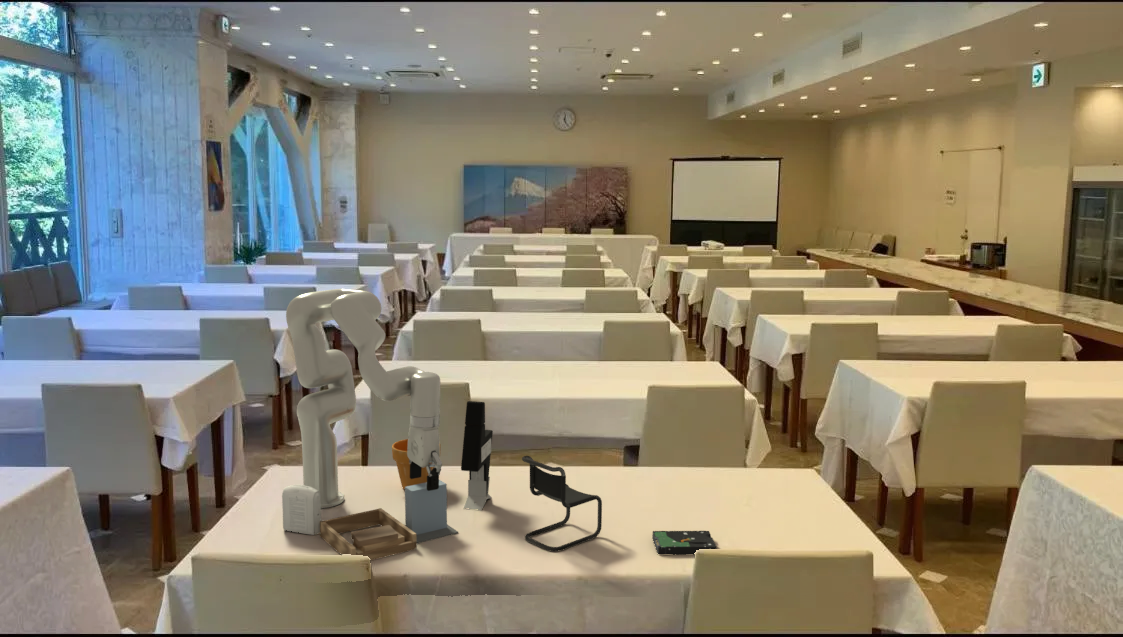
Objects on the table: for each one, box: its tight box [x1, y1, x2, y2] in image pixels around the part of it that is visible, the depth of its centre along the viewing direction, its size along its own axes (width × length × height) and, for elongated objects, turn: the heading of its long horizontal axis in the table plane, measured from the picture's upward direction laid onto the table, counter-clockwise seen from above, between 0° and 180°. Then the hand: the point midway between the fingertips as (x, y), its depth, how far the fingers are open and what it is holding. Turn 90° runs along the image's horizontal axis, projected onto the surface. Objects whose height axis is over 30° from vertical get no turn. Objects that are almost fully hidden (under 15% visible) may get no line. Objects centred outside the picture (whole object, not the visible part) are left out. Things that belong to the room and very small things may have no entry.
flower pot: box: [391, 438, 441, 490], centre depth 276 cm, size 14×14×13 cm
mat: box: [404, 524, 459, 544], centre depth 244 cm, size 12×12×1 cm
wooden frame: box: [319, 507, 418, 561], centre depth 236 cm, size 21×17×4 cm
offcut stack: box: [350, 525, 405, 554], centre depth 232 cm, size 8×12×4 cm, turn 125°
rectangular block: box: [404, 479, 448, 535], centre depth 243 cm, size 4×10×12 cm, turn 125°
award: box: [460, 400, 494, 511], centre depth 262 cm, size 15×5×30 cm, turn 168°
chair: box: [521, 455, 603, 552], centre depth 239 cm, size 13×17×22 cm
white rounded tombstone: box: [281, 484, 322, 536], centre depth 242 cm, size 10×4×12 cm, turn 73°
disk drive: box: [651, 530, 718, 556], centre depth 235 cm, size 10×3×15 cm
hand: (423, 483), depth 242 cm, fingers open, 9 cm apart
